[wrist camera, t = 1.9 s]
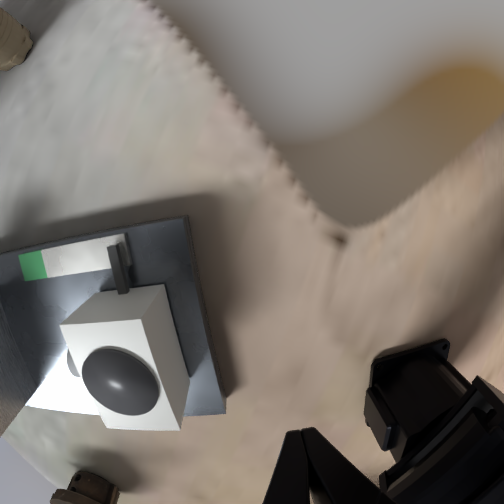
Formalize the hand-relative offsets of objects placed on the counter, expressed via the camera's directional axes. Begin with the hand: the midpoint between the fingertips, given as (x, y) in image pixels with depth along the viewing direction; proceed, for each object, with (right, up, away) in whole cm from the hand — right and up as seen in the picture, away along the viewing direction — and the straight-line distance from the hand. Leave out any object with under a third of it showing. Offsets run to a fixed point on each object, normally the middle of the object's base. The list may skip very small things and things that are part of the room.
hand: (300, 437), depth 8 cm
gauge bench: (-13, 0, +9) cm, 16 cm away
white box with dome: (-8, +2, +7) cm, 11 cm away
